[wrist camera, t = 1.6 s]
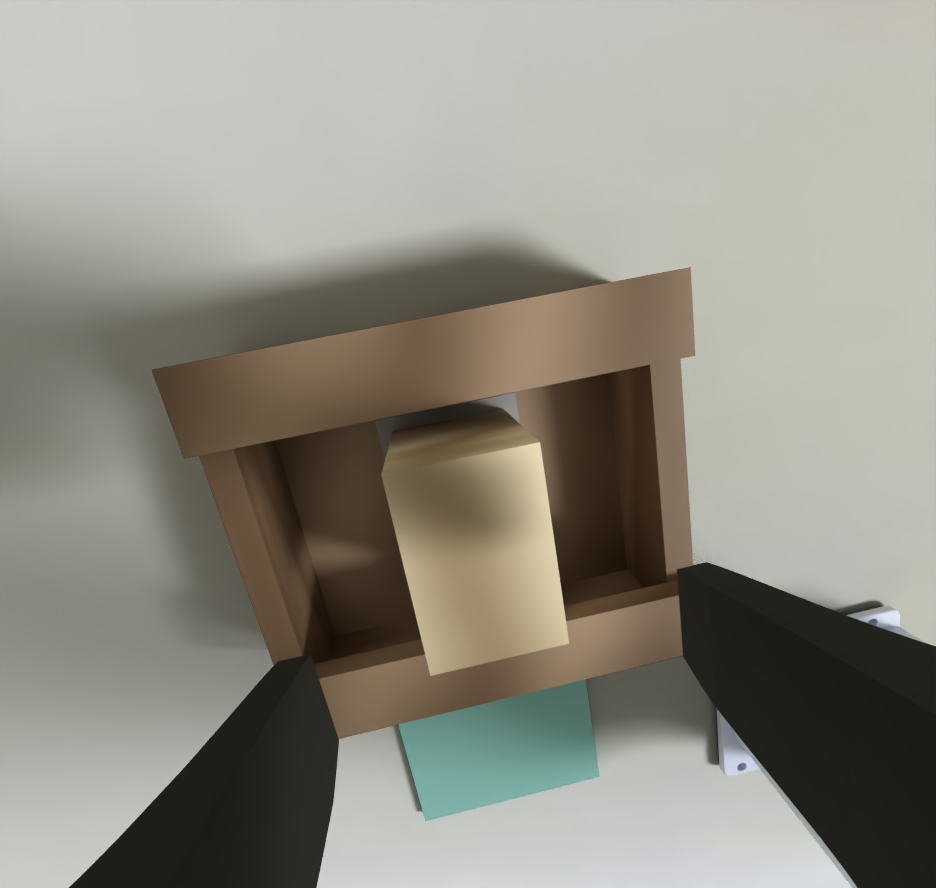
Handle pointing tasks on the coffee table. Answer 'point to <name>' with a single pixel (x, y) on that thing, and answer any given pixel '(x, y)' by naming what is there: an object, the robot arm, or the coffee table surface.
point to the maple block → (475, 539)
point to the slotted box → (434, 400)
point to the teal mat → (501, 749)
